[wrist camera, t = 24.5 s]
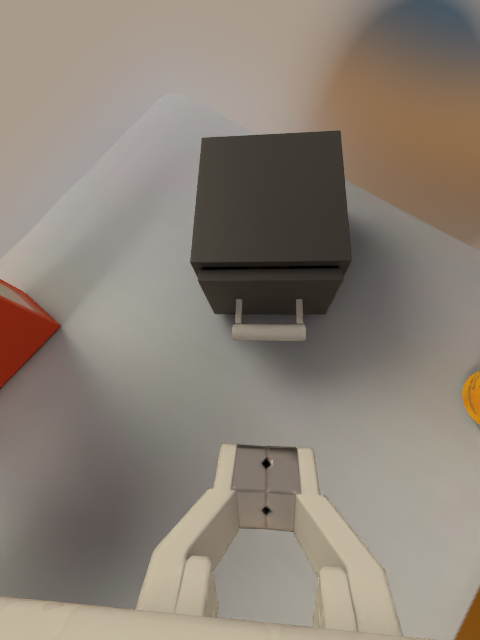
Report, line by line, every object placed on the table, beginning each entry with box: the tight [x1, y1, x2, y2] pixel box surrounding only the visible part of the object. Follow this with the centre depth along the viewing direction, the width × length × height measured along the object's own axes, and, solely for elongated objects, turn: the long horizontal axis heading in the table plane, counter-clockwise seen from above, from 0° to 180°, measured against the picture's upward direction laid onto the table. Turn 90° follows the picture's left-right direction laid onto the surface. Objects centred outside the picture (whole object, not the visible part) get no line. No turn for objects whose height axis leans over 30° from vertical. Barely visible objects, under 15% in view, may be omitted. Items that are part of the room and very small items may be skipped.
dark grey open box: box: [190, 131, 352, 278], centre depth 34 cm, size 14×14×11 cm
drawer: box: [198, 266, 343, 341], centre depth 33 cm, size 17×13×9 cm
